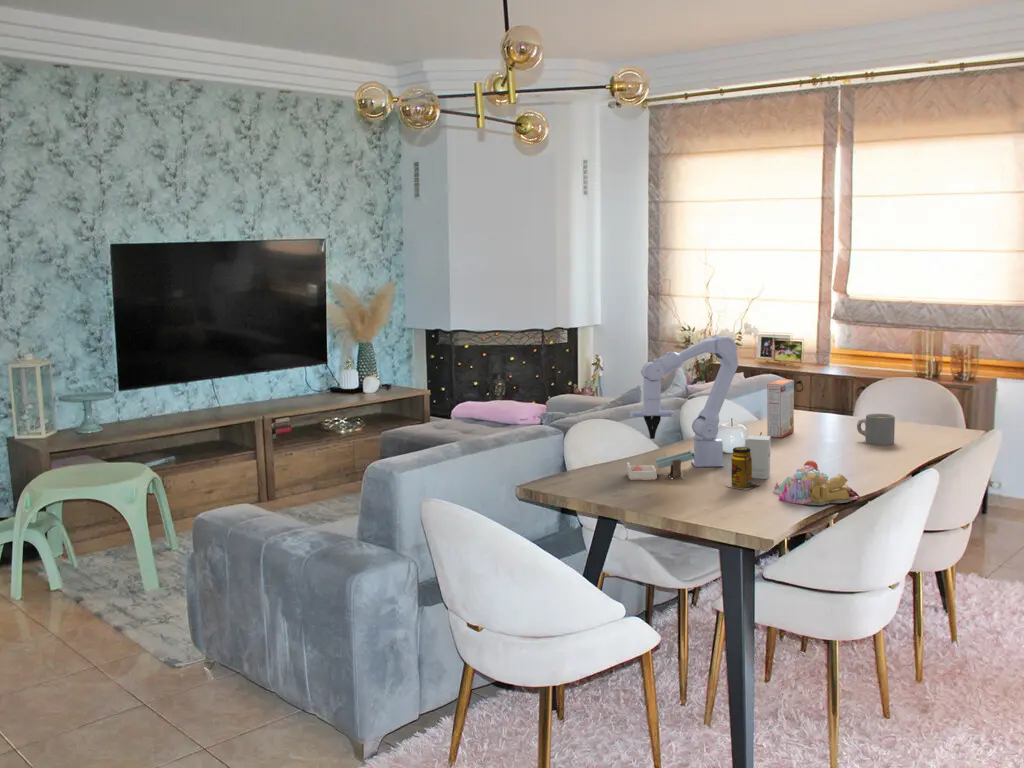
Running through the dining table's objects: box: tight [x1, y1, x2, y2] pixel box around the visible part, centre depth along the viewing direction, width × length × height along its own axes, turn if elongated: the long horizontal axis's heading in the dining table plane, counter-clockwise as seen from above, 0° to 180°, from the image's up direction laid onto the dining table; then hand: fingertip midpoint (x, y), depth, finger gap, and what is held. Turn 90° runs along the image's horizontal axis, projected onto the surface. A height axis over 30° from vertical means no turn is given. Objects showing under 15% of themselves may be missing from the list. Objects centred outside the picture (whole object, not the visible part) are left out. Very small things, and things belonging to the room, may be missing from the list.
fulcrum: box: [667, 460, 685, 480], centre depth 319 cm, size 4×8×6 cm, turn 178°
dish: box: [626, 461, 658, 479], centre depth 320 cm, size 9×9×4 cm
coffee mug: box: [856, 413, 896, 446], centre depth 366 cm, size 13×10×10 cm
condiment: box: [726, 446, 762, 491], centre depth 304 cm, size 7×8×12 cm
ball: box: [633, 465, 643, 471], centre depth 320 cm, size 3×3×3 cm
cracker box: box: [766, 378, 795, 439], centre depth 384 cm, size 14×6×21 cm, turn 144°
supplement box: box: [744, 435, 772, 480], centre depth 317 cm, size 7×7×13 cm
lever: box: [654, 449, 695, 470], centre depth 322 cm, size 12×12×2 cm
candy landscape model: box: [772, 460, 860, 506], centre depth 291 cm, size 25×24×9 cm
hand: (652, 438), depth 332 cm, fingers closed
